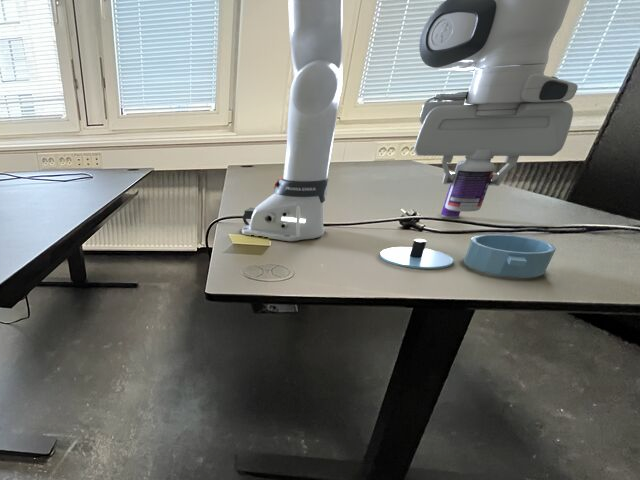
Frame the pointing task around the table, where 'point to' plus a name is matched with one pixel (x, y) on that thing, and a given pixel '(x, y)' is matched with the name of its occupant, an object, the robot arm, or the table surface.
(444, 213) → the container
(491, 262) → the pan
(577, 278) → the table surface
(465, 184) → the pill bottle
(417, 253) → the pan lid
